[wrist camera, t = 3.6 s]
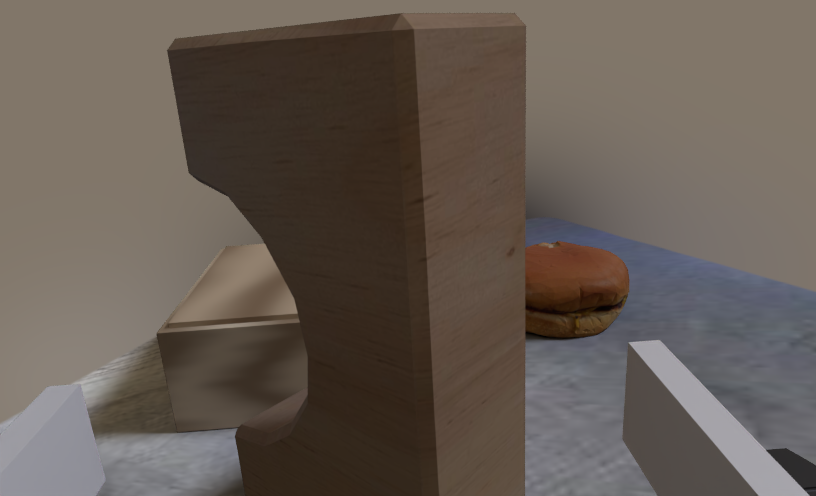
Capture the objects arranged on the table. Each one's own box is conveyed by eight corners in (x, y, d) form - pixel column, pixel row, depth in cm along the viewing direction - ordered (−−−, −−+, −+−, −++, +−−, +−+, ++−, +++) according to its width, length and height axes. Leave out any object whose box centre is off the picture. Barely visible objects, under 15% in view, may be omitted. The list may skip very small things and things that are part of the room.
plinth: (177, 432, 33) (155, 328, 31) (233, 322, 46) (221, 244, 44) (395, 414, 34) (387, 310, 32) (389, 310, 47) (383, 233, 45)
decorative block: (244, 518, 27) (158, 39, 20) (341, 454, 31) (294, 35, 24) (436, 680, 19) (395, 12, 13) (532, 568, 23) (535, 11, 17)
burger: (540, 353, 39) (540, 287, 38) (474, 303, 48) (472, 247, 46) (660, 322, 43) (664, 260, 41) (579, 280, 51) (580, 227, 50)
